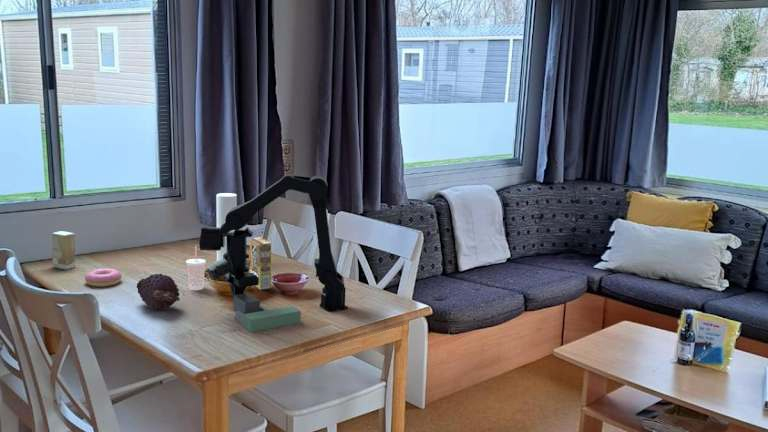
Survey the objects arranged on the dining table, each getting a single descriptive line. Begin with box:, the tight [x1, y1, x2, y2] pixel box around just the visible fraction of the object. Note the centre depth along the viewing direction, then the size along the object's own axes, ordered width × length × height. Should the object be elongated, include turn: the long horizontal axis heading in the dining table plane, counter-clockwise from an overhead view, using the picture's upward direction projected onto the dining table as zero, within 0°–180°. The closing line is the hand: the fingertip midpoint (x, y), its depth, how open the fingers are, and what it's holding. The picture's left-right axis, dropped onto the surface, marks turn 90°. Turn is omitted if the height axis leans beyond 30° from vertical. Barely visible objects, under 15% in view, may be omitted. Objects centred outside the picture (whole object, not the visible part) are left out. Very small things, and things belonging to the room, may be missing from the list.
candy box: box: [249, 237, 272, 291], centre depth 220 cm, size 9×4×15 cm, turn 33°
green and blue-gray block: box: [234, 305, 302, 333], centre depth 189 cm, size 15×12×4 cm
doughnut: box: [84, 268, 122, 288], centre depth 217 cm, size 11×11×4 cm
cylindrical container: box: [215, 192, 238, 262], centre depth 246 cm, size 7×7×25 cm
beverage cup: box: [185, 245, 207, 291], centre depth 214 cm, size 6×6×14 cm
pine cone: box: [136, 273, 181, 310], centre depth 195 cm, size 18×10×10 cm, turn 53°
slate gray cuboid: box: [233, 292, 261, 314], centre depth 194 cm, size 4×8×5 cm, turn 35°
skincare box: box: [51, 230, 76, 270], centre depth 231 cm, size 6×4×12 cm
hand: (236, 301), depth 200 cm, fingers closed
